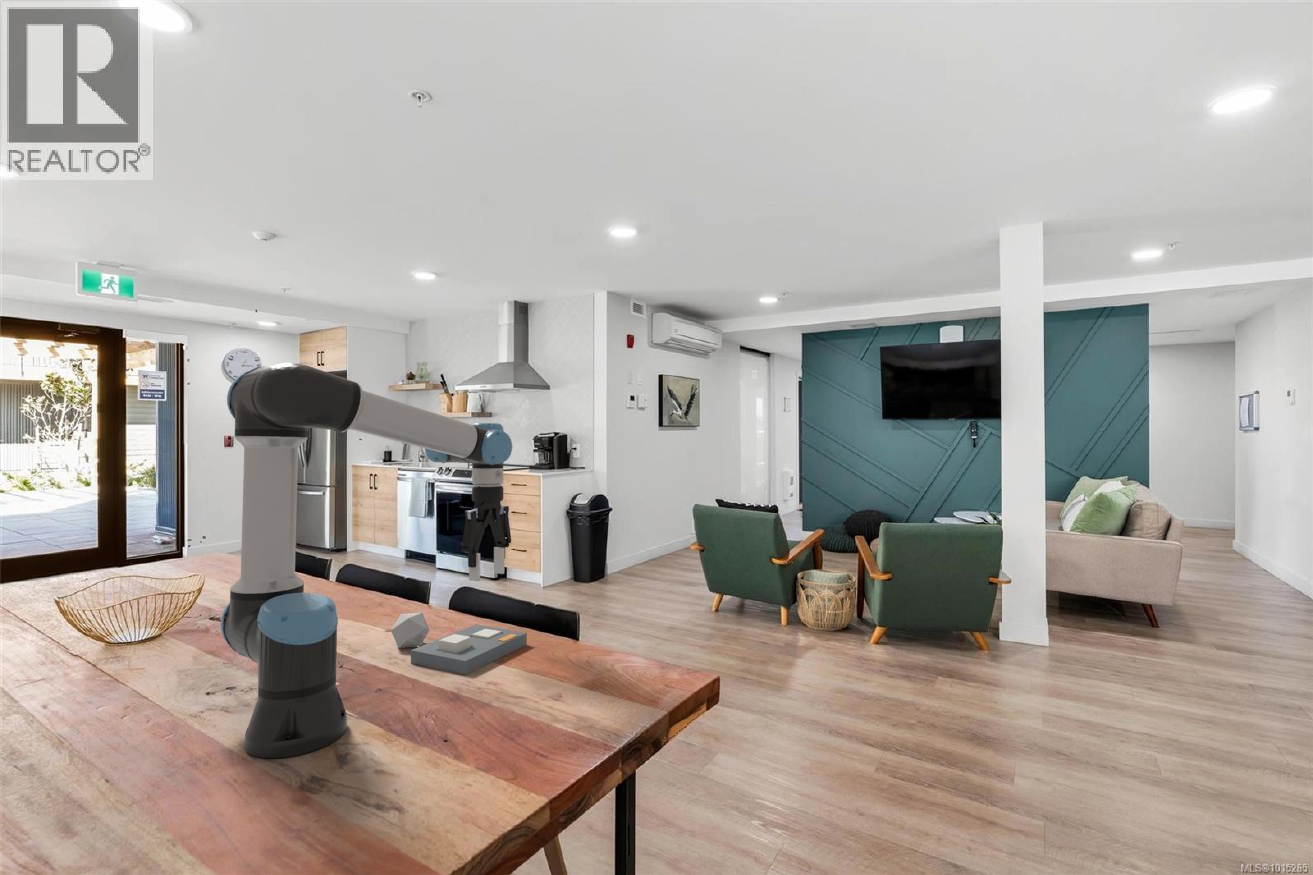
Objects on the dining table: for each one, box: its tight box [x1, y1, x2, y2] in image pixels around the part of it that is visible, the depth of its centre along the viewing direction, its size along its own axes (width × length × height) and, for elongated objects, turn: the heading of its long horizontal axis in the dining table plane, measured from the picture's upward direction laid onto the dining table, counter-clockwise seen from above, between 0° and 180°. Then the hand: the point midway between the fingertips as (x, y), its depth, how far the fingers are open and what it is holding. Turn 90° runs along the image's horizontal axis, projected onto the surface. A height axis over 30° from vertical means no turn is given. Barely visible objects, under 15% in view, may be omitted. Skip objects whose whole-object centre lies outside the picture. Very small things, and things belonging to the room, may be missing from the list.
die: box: [390, 612, 430, 649], centre depth 153 cm, size 8×9×10 cm
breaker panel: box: [410, 623, 528, 676], centre depth 147 cm, size 22×16×3 cm
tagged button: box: [472, 629, 501, 640], centre depth 152 cm, size 5×5×3 cm
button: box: [439, 633, 471, 654], centre depth 142 cm, size 5×5×3 cm
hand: (487, 576), depth 152 cm, fingers open, 8 cm apart
